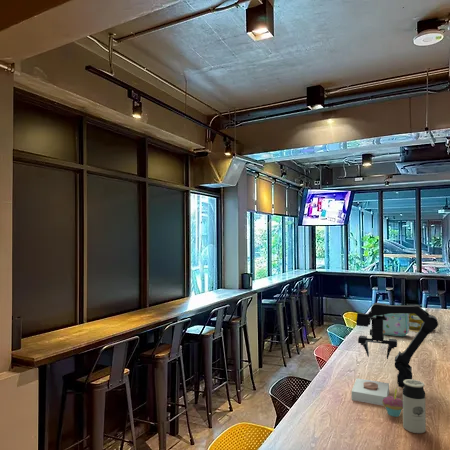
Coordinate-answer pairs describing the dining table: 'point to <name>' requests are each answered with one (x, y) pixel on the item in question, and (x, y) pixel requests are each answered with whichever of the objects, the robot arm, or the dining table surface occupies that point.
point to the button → (370, 385)
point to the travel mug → (414, 406)
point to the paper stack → (415, 322)
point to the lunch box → (396, 324)
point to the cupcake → (393, 405)
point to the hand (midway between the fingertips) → (377, 357)
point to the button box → (370, 392)
